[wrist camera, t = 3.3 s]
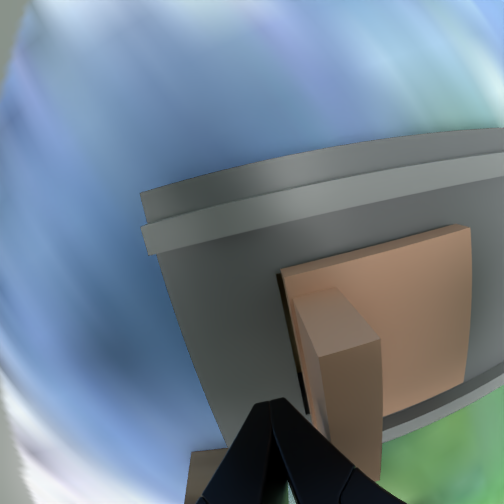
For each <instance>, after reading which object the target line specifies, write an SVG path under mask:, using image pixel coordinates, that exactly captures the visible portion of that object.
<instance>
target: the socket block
mask: <svg viewBox="0 0 504 504" xmlns="http://www.w3.org/2000/svg"><path fill="white" fill-rule="evenodd" d="M140 197H141V201H142V204H143V208H144V212H145V216H146V220H147V224H145V225H143V226H141V231H142V235H143V238H144V242H145V245H146V249H147V252H148V255H149V256H150V255H154V254H156V255H157V258H158V262H159V265H160V268H161V272H162V275H163V278H164V281H165V284H166V288H167V291H168V294H169V297H170V300H171V303H172V306H173V309H174V312H175V315H176V318H177V321H178V324H179V327H180V329H181V332H182V335H183V338H184V341H185V343H186V346H187V349H188V352H189V354H190V357H191V360H192V362H193V365H194V368H195V370H196V373H197V375H198V378H199V380H200V383H201V386H202V388H203V391H204V393H205V395H206V398H207V400H208V403H209V405H210V408H211V410H212V412H213V415H214V417H215V419H216V422H217V424H218V426H219V429H220V431H221V433H222V435H223V438H224V440H225V442H226V444H227V447H228V449H229V448H230V446H231V444H232V443H233V441H234V439H235V437H236V436H237V434H238V432H239V430H240V429H241V427H242V425H243V423H244V421H245V420H246V418H247V416H248V414H249V412H250V411H251V409H252V407H253V405H254V404H255V403H259V402H263V401H270V400H273V399H277V398H281V397H285V398H286V399H287V400H288V401H289V402H290V403H291V404H292V405H293V406H294V407H295V408H296V409H297V410H298V411H299V412H300V413H301V414H302V415H303V416H304V417H305V418H306V419H307V420H308V421H309V422H310V423H311V424H312V421H311V416H310V411H309V406H308V400H307V395H306V390H305V385H304V380H303V375H302V370H301V365H300V360H299V355H298V350H297V345H296V341H295V336H294V331H293V326H292V321H291V317H290V312H289V307H288V302H287V298H286V293H285V288H284V284H283V279H282V275H281V270H280V269H282V268H286V267H291V266H295V265H299V264H303V263H307V262H311V261H315V260H319V259H323V258H327V257H331V256H335V255H339V254H343V253H347V252H351V251H355V250H359V249H363V248H366V247H370V246H374V245H378V244H382V243H386V242H390V241H393V240H397V239H401V238H405V237H409V236H412V235H416V234H420V233H423V232H427V231H431V230H435V229H438V228H442V227H446V226H449V225H453V224H459V225H463V226H467V227H470V230H471V249H472V300H471V319H470V333H469V343H468V353H467V361H466V368H465V375H464V381H463V383H461V384H459V385H457V386H455V387H453V388H451V389H449V390H446V391H444V392H442V393H440V394H438V395H436V396H433V397H431V398H429V399H427V400H424V401H422V402H420V403H417V404H415V405H412V406H410V407H407V408H405V409H402V410H400V411H397V412H395V413H392V414H389V415H387V416H384V417H383V427H382V443H385V442H387V441H390V440H393V439H395V438H398V437H400V436H403V435H405V434H408V433H410V432H413V431H415V430H417V429H420V428H422V427H424V426H426V425H429V424H431V423H433V422H435V421H437V420H440V419H442V418H444V417H446V416H448V415H450V414H452V413H454V412H456V411H458V410H460V409H462V408H464V407H465V406H467V405H469V404H471V403H473V402H475V401H477V400H478V399H480V398H482V397H484V396H485V395H487V394H489V393H490V392H492V391H494V390H495V389H497V388H499V387H500V386H502V385H504V128H487V129H471V130H458V131H447V132H436V133H427V134H418V135H409V136H401V137H393V138H386V139H379V140H372V141H365V142H359V143H352V144H346V145H340V146H335V147H329V148H323V149H318V150H313V151H307V152H302V153H297V154H292V155H287V156H282V157H278V158H273V159H268V160H264V161H259V162H255V163H250V164H246V165H242V166H238V167H233V168H229V169H225V170H221V171H217V172H213V173H209V174H205V175H202V176H198V177H194V178H190V179H187V180H183V181H179V182H176V183H172V184H169V185H165V186H162V187H158V188H155V189H151V190H148V191H145V192H141V193H140Z"/></svg>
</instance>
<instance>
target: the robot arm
mask: <svg viewBox="0 0 504 504" xmlns="http://www.w3.org/2000/svg"><path fill="white" fill-rule="evenodd" d="M288 483H289V485H290V488H291V491H292V494H293V496H294V499H295V502H296V504H407V503H405V502H404V501H402V500H400V499H399V498H397V497H395V496H394V495H392V494H391V493H389V492H388V491H386V490H385V489H383V488H382V487H381V486H379V485H378V484H377V483H376V482H374V481H373V480H372V479H371V478H369V477H368V476H367V475H366V474H365V473H364V472H362V471H361V470H360V469H359V468H358V467H356V466H355V465H354V464H353V463H352V462H351V461H350V460H349V459H348V458H347V457H346V456H345V455H343V454H342V453H341V452H340V451H339V450H338V449H337V448H336V447H335V446H334V445H333V444H332V443H331V442H330V441H329V440H328V439H327V438H325V437H324V436H323V435H322V434H321V433H320V432H319V431H318V430H317V429H316V428H315V427H314V426H313V425H312V424H311V423H310V422H309V421H308V420H307V419H306V418H305V417H304V416H303V415H302V414H301V413H300V412H299V411H298V410H297V409H296V408H295V407H294V406H293V405H292V404H291V403H290V402H289V401H288V400H287V399H286V398H285V397H281V398H277V399H273V400H270V401H263V402H259V403H255V404H254V405H253V407H252V409H251V411H250V412H249V414H248V416H247V418H246V420H245V421H244V423H243V425H242V427H241V429H240V430H239V432H238V434H237V436H236V437H235V439H234V441H233V443H232V444H231V446H230V448H229V450H228V451H227V453H226V455H225V456H224V458H223V460H222V461H221V463H220V465H219V466H218V468H217V470H216V471H215V473H214V475H213V476H212V478H211V480H210V481H209V483H208V485H207V486H206V488H205V489H204V491H203V493H202V494H201V496H202V497H199V499H198V500H197V502H196V503H195V504H289V499H288Z"/></svg>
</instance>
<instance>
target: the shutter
mask: <svg viewBox="0 0 504 504" xmlns="http://www.w3.org/2000/svg"><path fill="white" fill-rule="evenodd" d="M280 270H281V275H282V279H283V284H284V288H285V293H286V298H287V302H288V307H289V312H290V317H291V321H292V326H293V331H294V336H295V341H296V345H297V350H298V355H299V360H300V365H301V370H302V375H303V380H304V385H305V390H306V395H307V400H308V406H309V411H310V416H311V421H312V425H313V426H314V427H315V428H316V429H317V430H318V431H319V432H320V433H321V434H322V435H323V436H324V437H325V438H327V439H328V440H329V441H330V442H331V443H332V444H333V445H334V446H335V447H336V448H337V449H338V450H339V451H340V452H341V453H342V454H343V455H345V456H346V457H347V458H348V459H349V460H350V461H351V462H352V463H353V464H354V465H355V466H356V467H358V468H359V469H360V470H361V471H362V472H364V473H365V474H366V475H367V476H368V477H369V478H371V479H372V480H373V481H374V482H376V481H378V480H380V471H381V454H382V427H383V417H384V416H387V415H389V414H392V413H395V412H397V411H400V410H402V409H405V408H407V407H410V406H412V405H415V404H417V403H420V402H422V401H424V400H427V399H429V398H431V397H433V396H436V395H438V394H440V393H442V392H444V391H446V390H449V389H451V388H453V387H455V386H457V385H459V384H461V383H463V381H464V375H465V368H466V361H467V353H468V343H469V333H470V319H471V300H472V249H471V230H470V227H467V226H463V225H459V224H453V225H449V226H446V227H442V228H438V229H435V230H431V231H427V232H423V233H420V234H416V235H412V236H409V237H405V238H401V239H397V240H393V241H390V242H386V243H382V244H378V245H374V246H370V247H366V248H363V249H359V250H355V251H351V252H347V253H343V254H339V255H335V256H331V257H327V258H323V259H319V260H315V261H311V262H307V263H303V264H299V265H295V266H291V267H286V268H282V269H280Z"/></svg>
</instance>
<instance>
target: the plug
mask: <svg viewBox="0 0 504 504" xmlns="http://www.w3.org/2000/svg"><path fill="white" fill-rule="evenodd" d="M228 450H229V449H228V448H222V449H214V450H205V451H196V452H191V459H190V466H189V473H188V480H187V487H186V495H185V502H184V504H195V503H196V502H197V500H198V499H199V497H202V496H201V494H202V493H203V491H204V489H205V488H206V486H207V485H208V483H209V481H210V480H211V478H212V476H213V475H214V473H215V471H216V470H217V468H218V466H219V465H220V463H221V461H222V460H223V458H224V456H225V455H226V453H227V451H228Z"/></svg>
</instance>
